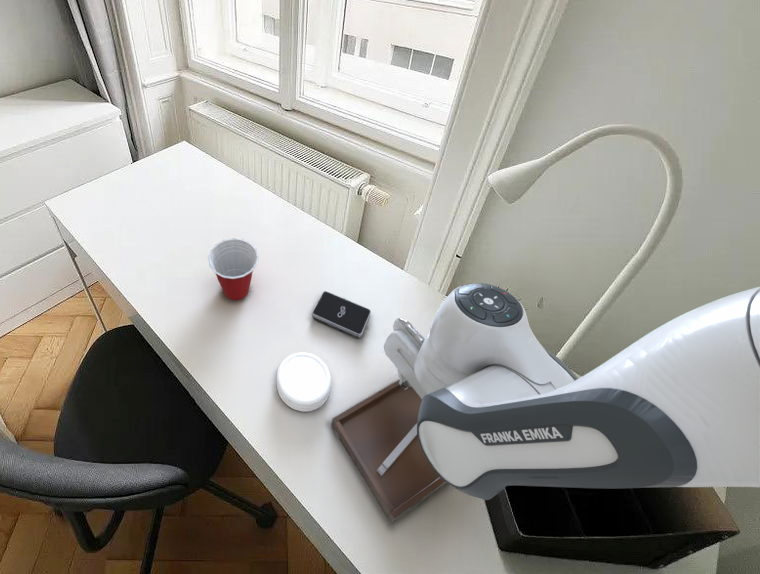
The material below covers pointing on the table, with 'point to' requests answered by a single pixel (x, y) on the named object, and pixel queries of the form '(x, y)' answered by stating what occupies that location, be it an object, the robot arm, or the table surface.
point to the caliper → (397, 451)
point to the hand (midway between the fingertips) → (425, 411)
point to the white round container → (303, 381)
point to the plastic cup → (233, 266)
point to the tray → (388, 448)
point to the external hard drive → (341, 314)
